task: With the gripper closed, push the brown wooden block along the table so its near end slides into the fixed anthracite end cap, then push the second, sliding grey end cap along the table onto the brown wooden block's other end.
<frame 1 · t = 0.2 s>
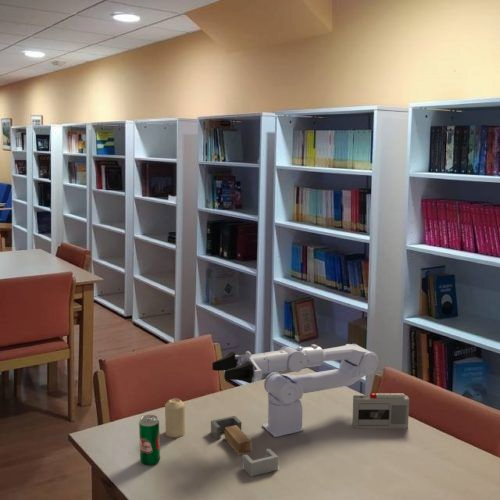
hand: (218, 370, 161), 21 cm above the table, tool horizontal, fingers open, 7 cm apart
candle: (175, 433, 171), on the table
fixed cap: (226, 432, 172), on the table
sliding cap: (260, 462, 152), point 2 cm above the table, slide at 0.0 cm
soda can: (150, 462, 156), on the table
brown wooden block: (237, 445, 165), on the table
cassette player: (379, 427, 176), on the table
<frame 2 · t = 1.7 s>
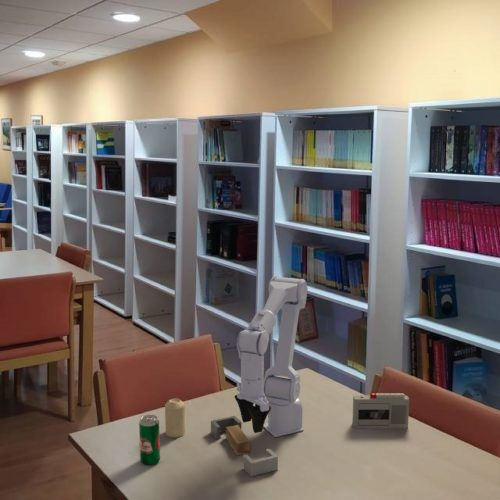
hand: (252, 426, 155), 9 cm above the table, tool pointing down, fingers open, 6 cm apart
nothing on the table moved.
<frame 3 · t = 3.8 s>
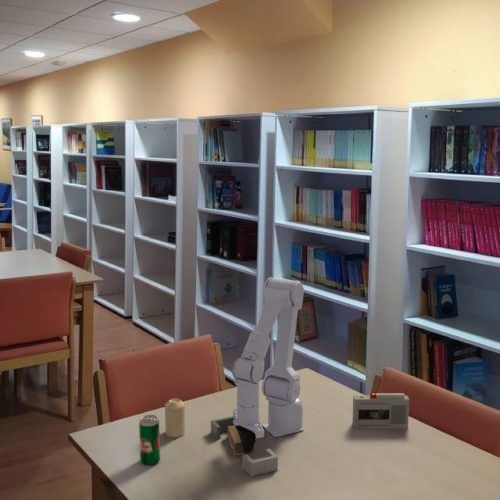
hand: (247, 451, 159), 1 cm above the table, tool pointing down, fingers closed
brown wooden block: (237, 445, 165), on the table, touching gripper
everything else where it was.
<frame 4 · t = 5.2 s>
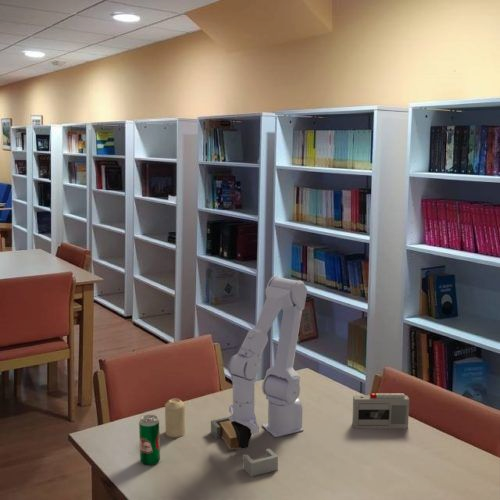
hand: (243, 447, 161), 1 cm above the table, tool pointing down, fingers closed
brown wooden block: (230, 440, 168), on the table
everything else where it was.
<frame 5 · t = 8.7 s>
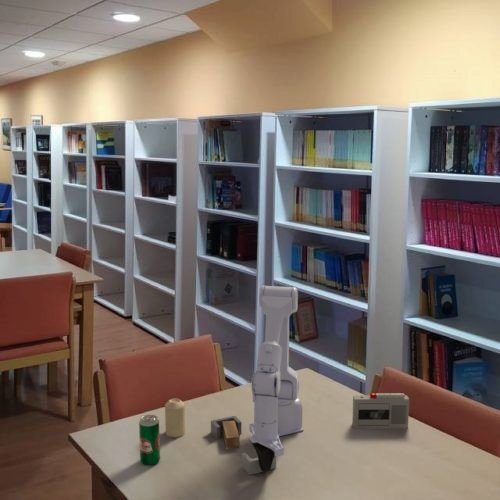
hand: (265, 469, 150), 1 cm above the table, tool pointing down, fingers closed
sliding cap: (259, 460, 153), point 2 cm above the table, slide at 0.9 cm, touching gripper
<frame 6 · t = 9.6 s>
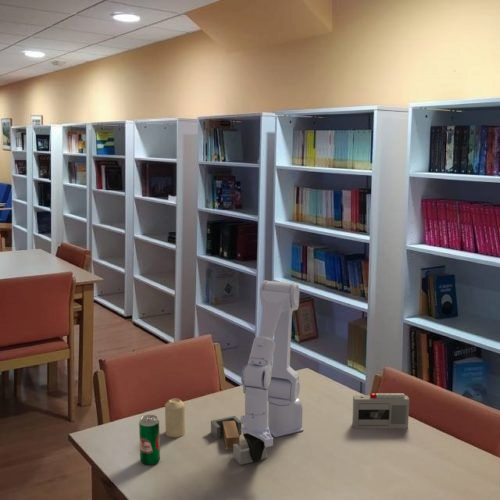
hand: (256, 460, 155), 1 cm above the table, tool pointing down, fingers closed
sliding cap: (249, 451, 158), point 2 cm above the table, slide at 6.1 cm, touching gripper
everything else where it was.
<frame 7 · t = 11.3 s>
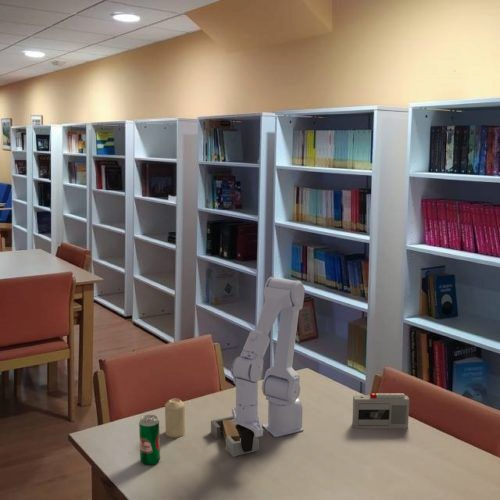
hand: (246, 450, 159), 1 cm above the table, tool pointing down, fingers closed, pressing on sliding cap
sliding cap: (242, 443, 162), point 2 cm above the table, slide at 10.7 cm, touching gripper, brown wooden block
brown wooden block: (231, 439, 168), on the table, touching fixed cap, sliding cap
everything else where it was.
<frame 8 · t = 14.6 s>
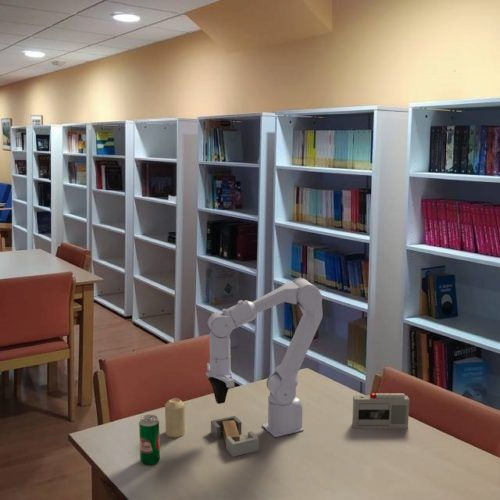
hand: (220, 402, 168), 10 cm above the table, tool pointing down, fingers closed
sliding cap: (242, 443, 162), point 2 cm above the table, slide at 10.7 cm
brown wooden block: (230, 440, 168), on the table
everything else where it was.
at the end: brown wooden block 0.5 cm from the target spot, on the table; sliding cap slide at 10.7 cm; brown wooden block tilted 0° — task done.
